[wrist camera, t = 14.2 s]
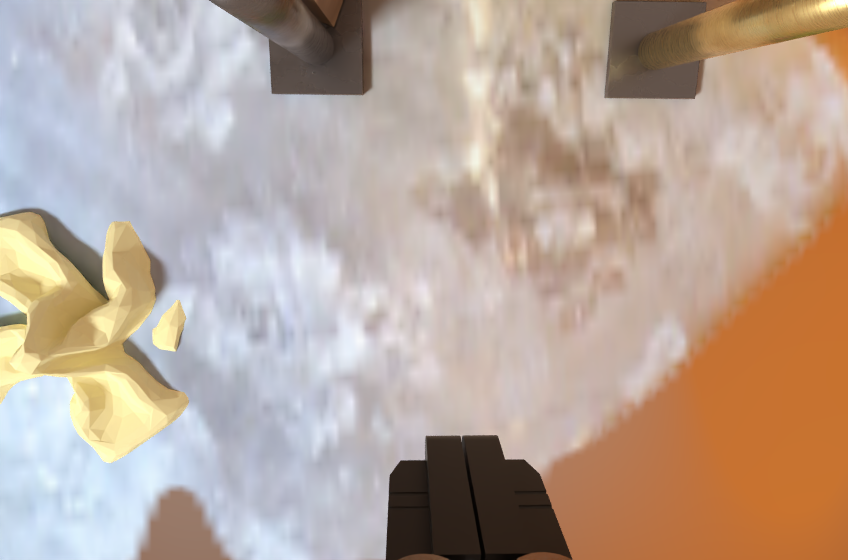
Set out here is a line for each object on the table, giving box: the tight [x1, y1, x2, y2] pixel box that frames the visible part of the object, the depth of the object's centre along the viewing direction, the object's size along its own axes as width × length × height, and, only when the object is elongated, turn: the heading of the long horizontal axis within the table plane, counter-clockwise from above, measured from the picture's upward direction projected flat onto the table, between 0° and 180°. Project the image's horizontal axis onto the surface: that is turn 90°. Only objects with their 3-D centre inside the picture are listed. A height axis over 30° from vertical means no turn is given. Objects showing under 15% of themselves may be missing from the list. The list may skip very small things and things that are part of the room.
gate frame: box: [209, 0, 848, 99], centre depth 30 cm, size 28×6×20 cm, turn 89°
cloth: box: [0, 212, 189, 463], centre depth 41 cm, size 22×19×6 cm
